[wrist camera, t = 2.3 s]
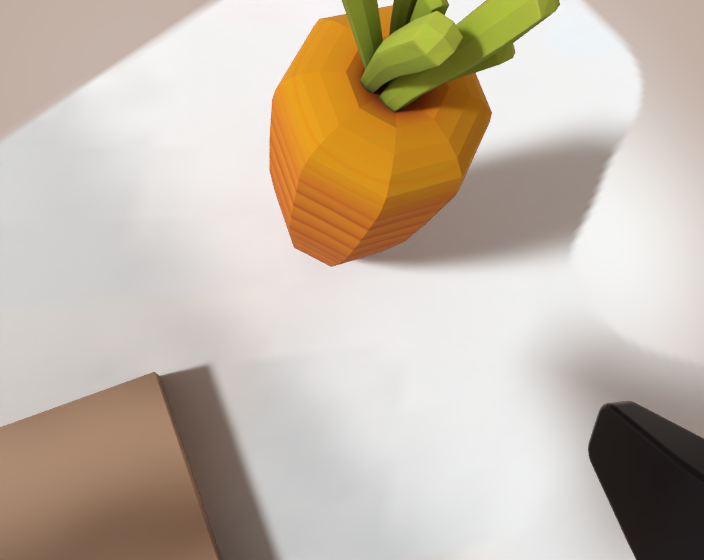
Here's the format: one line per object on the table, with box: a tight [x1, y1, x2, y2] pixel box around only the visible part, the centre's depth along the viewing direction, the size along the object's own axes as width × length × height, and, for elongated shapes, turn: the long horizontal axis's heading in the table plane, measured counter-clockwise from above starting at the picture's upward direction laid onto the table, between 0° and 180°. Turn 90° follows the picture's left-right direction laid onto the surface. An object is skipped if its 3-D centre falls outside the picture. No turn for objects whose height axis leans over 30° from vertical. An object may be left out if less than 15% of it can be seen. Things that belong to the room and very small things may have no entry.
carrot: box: [270, 0, 560, 267], centre depth 16 cm, size 5×5×15 cm
